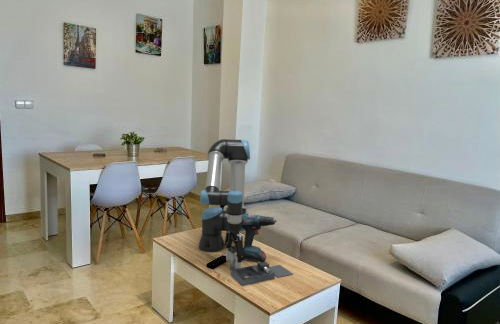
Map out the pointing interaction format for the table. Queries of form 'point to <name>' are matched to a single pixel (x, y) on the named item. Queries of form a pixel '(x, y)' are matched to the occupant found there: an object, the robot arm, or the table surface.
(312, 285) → the table surface
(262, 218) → the power drill
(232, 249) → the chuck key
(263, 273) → the plate
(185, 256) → the table surface
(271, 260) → the table surface
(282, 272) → the rubber mat
